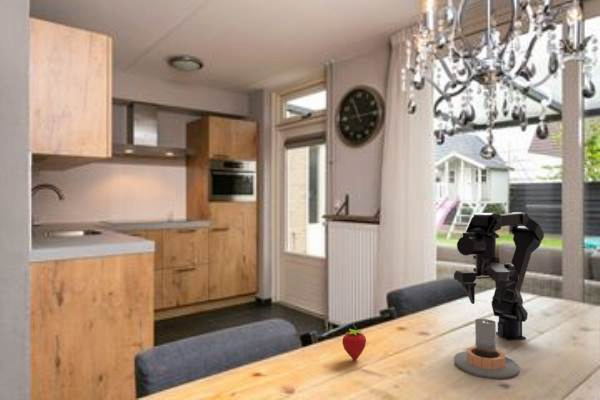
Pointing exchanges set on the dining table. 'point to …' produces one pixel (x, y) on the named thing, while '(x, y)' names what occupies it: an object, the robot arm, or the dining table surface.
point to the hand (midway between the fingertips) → (486, 303)
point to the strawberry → (354, 343)
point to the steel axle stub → (485, 338)
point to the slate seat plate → (487, 372)
